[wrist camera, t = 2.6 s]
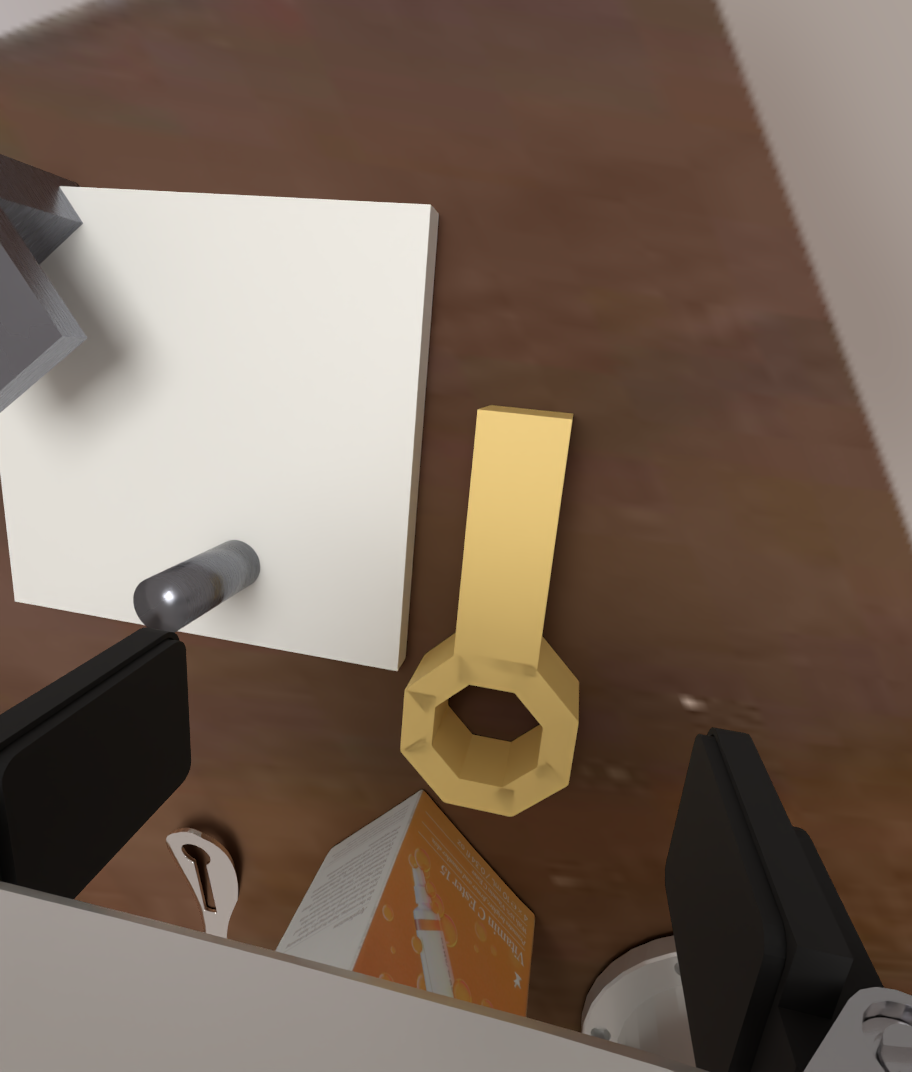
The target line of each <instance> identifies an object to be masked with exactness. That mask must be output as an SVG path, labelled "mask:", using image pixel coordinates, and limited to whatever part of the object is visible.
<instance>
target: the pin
mask: <svg viewBox="0 0 912 1072" xmlns="http://www.w3.org/2000/svg"><path fill="white" fill-rule="evenodd" d="M259 573H260V561H259V558H258V556H257V554H256V552H255V551H254V549H253V548H252V547H251V546H249V545H248V544H247V543H245V542H242V541H239V540H229V541H226V542H224V543H222V544H220V545H218V546H216V547H213V548H211V549H209V550H207V551H205V552H203V553H201V554H198V555H196V556H194V557H192V558H190V559H188V560H186V561H183V562H181V563H179V564H177V565H175V566H173V567H171V568H168V569H166V570H164V571H162V572H160V573H158V574H156V575H153V576H151V577H149V578H147V579H145V580H143V581H142V582H140V583H139V584H138V586H137V587H136V589H135V592H134V596H133V604H134V609H135V611H136V614H137V616H138V617H139V619H140V620H141V622H142V623H143V624H144V625H145V626H147V627H148V628H152V629H158V630H164V631H169V632H176V631H178V630H180V629H181V628H183V627H184V626H186V625H188V624H189V623H191V622H192V621H194V620H196V619H197V618H199V617H200V616H202V615H203V614H205V613H207V612H208V611H210V610H211V609H213V608H215V607H216V606H218V605H219V604H221V603H222V602H224V601H226V600H227V599H229V598H230V597H232V596H234V595H235V594H237V593H238V592H240V591H241V590H243V589H245V588H246V587H248V586H249V585H251V584H252V583H254V582H255V581H256V579H257V578H258V576H259Z"/></svg>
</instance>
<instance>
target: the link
mask: <svg viewBox="0 0 912 1072" xmlns="http://www.w3.org/2000/svg"><path fill="white" fill-rule="evenodd" d="M572 421H573V414H571V413H562V412H552V411H543V410H533V409H523V408H514V407H504V406H495V405H490V406H487V407H484V408H481V409H478V412H477V423H476V433H475V443H474V453H473V463H472V473H471V484H470V494H469V504H468V514H467V524H466V534H465V544H464V555H463V565H462V575H461V585H460V595H459V605H458V616H457V626H456V633H454V634H453V635H451V636H450V637H449V638H447V639H446V640H444V641H443V642H441V643H440V644H439V645H437V646H436V647H434V648H433V649H432V650H430V651H429V652H427V653H426V654H425V655H424V657H423V659H422V660H421V662H420V664H419V666H418V667H417V669H416V671H415V673H414V675H413V676H412V678H411V680H410V682H409V683H408V685H407V687H406V689H405V693H404V707H403V720H402V733H401V746H400V750H401V753H402V754H403V755H404V756H405V757H406V758H407V760H408V761H409V762H410V763H411V764H412V766H413V767H414V768H415V769H416V770H417V771H418V773H419V774H420V775H421V776H422V777H423V779H424V780H425V781H426V782H427V783H428V784H429V786H430V787H431V788H432V789H433V790H434V792H435V793H436V794H437V795H438V796H439V798H440V799H441V800H442V801H443V802H444V803H449V804H453V805H458V806H463V807H467V808H472V809H476V810H481V811H486V812H490V813H495V814H499V815H504V816H509V817H511V816H512V817H513V816H514V815H516V814H518V813H520V812H522V811H523V810H525V809H527V808H529V807H531V806H532V805H534V804H536V803H538V802H540V801H541V800H543V799H545V798H547V797H549V796H550V795H552V794H554V793H556V792H557V791H559V790H561V789H563V788H565V787H566V786H568V784H569V778H570V772H571V766H572V760H573V754H574V748H575V742H576V736H577V730H578V724H579V681H578V680H577V678H576V677H575V676H574V675H573V673H572V672H571V671H570V670H569V668H568V667H567V666H566V665H565V663H564V662H563V661H562V660H561V659H560V657H559V656H558V655H557V654H556V652H555V651H554V650H553V649H552V647H551V646H550V645H549V644H548V642H547V641H546V640H545V639H544V637H543V636H542V634H543V627H544V620H545V613H546V605H547V598H548V591H549V584H550V577H551V570H552V563H553V556H554V549H555V542H556V534H557V527H558V520H559V513H560V506H561V499H562V492H563V485H564V478H565V471H566V463H567V456H568V449H569V442H570V435H571V428H572ZM468 685H474V686H479V687H485V688H490V689H495V690H501V691H506V692H512V693H515V694H516V695H517V697H518V698H519V699H520V700H521V702H522V703H523V704H524V705H525V706H526V708H527V709H528V710H529V711H530V713H531V714H532V715H533V716H534V717H535V719H536V720H537V721H538V722H539V724H540V725H538V726H537V727H535V728H533V729H532V730H530V731H528V732H527V733H525V734H523V735H522V736H520V737H518V738H517V739H515V740H513V741H512V742H508V741H503V740H498V739H493V738H488V737H483V736H478V735H473V734H472V733H471V732H470V731H469V730H468V728H467V727H466V726H465V725H464V724H463V722H462V721H461V720H460V719H459V718H458V716H457V715H456V714H455V713H454V712H453V710H452V709H451V708H450V707H449V706H448V701H449V698H450V697H451V696H453V695H454V694H456V693H457V692H459V691H460V690H462V689H463V688H465V687H466V686H468Z"/></svg>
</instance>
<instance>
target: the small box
mask: <svg viewBox="0 0 912 1072" xmlns="http://www.w3.org/2000/svg"><path fill="white" fill-rule="evenodd" d="M534 927H535V915H534V914H533V913H532V912H531V911H530V910H529V909H528V908H527V907H526V906H525V905H524V904H523V903H522V902H521V901H520V900H519V898H518V897H517V896H516V895H515V894H514V893H513V892H512V891H511V890H510V889H509V888H508V886H507V885H506V884H505V883H504V882H503V881H502V880H501V879H500V878H499V876H498V875H497V874H496V873H495V872H494V871H493V870H492V868H491V867H490V866H489V865H488V864H487V863H486V862H485V861H484V859H483V858H482V857H481V856H480V855H479V854H478V853H477V852H476V850H475V849H474V848H473V847H472V846H471V845H470V844H469V842H468V841H467V840H466V839H465V838H464V836H463V835H462V834H461V833H460V832H459V831H458V830H457V828H456V827H455V826H454V825H453V824H452V823H451V822H450V820H449V819H448V818H447V817H446V816H445V815H444V813H443V812H442V811H441V810H440V809H439V808H438V806H437V805H436V804H435V803H434V802H433V800H432V799H431V798H430V797H429V796H428V794H427V793H426V792H425V791H424V790H420V791H418V792H417V793H415V794H414V795H412V796H411V797H409V798H408V799H406V800H405V801H403V802H402V803H400V804H399V805H397V806H396V807H394V808H393V809H391V810H390V811H388V812H387V813H385V814H384V815H382V816H380V817H379V818H377V819H376V820H374V821H373V822H371V823H370V824H368V825H366V826H365V827H363V828H362V829H360V830H359V831H357V832H356V833H354V834H353V835H351V836H350V837H348V838H347V839H345V840H344V841H342V842H341V843H339V844H338V845H336V846H334V847H333V848H332V849H331V850H330V851H329V853H328V854H327V856H326V858H325V860H324V862H323V863H322V865H321V867H320V869H319V871H318V873H317V874H316V876H315V878H314V880H313V882H312V884H311V886H310V887H309V889H308V891H307V893H306V895H305V897H304V898H303V900H302V902H301V904H300V906H299V908H298V910H297V911H296V913H295V915H294V917H293V919H292V921H291V923H290V924H289V926H288V928H287V930H286V932H285V934H284V936H283V937H282V939H281V941H280V943H279V945H278V947H277V949H276V951H277V952H281V953H285V954H288V955H292V956H296V957H300V958H304V959H308V960H311V961H315V962H319V963H323V964H327V965H331V966H335V967H338V968H342V969H346V970H350V971H354V972H358V973H361V974H365V975H369V976H373V977H376V978H380V979H384V980H388V981H391V982H395V983H399V984H403V985H406V986H410V987H414V988H418V989H422V990H425V991H429V992H433V993H437V994H440V995H444V996H448V997H452V998H455V999H459V1000H463V1001H467V1002H470V1003H474V1004H478V1005H482V1006H486V1007H489V1008H493V1009H497V1010H501V1011H504V1012H508V1013H512V1014H516V1015H519V1016H523V1017H526V1013H527V1002H528V990H529V979H530V968H531V956H532V948H533V937H534Z"/></svg>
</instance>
